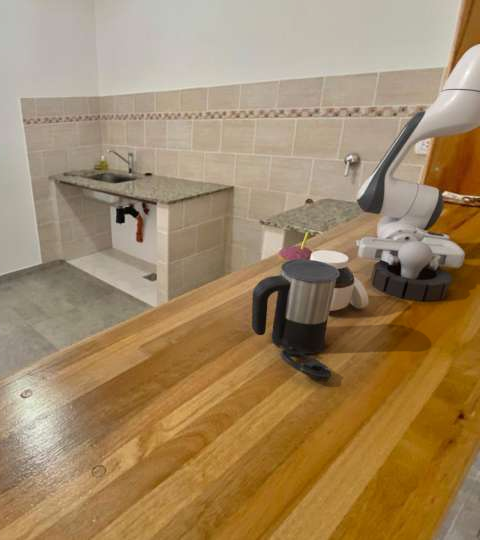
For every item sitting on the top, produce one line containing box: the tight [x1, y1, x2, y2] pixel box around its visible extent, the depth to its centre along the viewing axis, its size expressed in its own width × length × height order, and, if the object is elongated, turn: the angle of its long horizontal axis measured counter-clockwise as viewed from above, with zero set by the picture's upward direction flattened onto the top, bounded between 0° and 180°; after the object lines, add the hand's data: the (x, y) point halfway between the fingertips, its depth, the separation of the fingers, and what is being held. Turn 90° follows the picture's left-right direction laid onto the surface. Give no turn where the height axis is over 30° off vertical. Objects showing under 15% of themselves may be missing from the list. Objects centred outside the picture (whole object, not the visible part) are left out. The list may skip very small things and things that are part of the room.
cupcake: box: [277, 229, 314, 265], centre depth 95 cm, size 9×8×12 cm
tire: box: [370, 260, 453, 303], centre depth 87 cm, size 14×14×4 cm
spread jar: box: [310, 249, 369, 315], centre depth 80 cm, size 12×11×12 cm
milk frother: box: [251, 259, 339, 381], centre depth 65 cm, size 14×16×15 cm
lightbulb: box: [398, 241, 433, 279], centre depth 86 cm, size 6×6×11 cm
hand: (413, 264), depth 85 cm, fingers closed on lightbulb, 6 cm apart
